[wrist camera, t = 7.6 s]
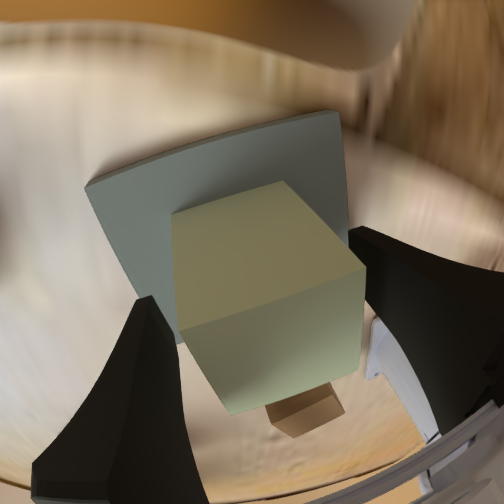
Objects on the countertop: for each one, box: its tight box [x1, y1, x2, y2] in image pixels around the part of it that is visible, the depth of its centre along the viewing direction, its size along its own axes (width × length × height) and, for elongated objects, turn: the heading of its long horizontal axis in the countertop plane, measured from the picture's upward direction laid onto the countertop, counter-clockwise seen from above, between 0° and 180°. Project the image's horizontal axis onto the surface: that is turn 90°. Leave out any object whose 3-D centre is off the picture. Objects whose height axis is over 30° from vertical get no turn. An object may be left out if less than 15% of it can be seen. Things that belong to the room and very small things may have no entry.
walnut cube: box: [265, 382, 345, 438], centre depth 19 cm, size 4×4×4 cm
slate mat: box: [84, 109, 349, 344], centre depth 13 cm, size 10×9×1 cm
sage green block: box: [171, 181, 366, 415], centre depth 10 cm, size 4×4×6 cm
